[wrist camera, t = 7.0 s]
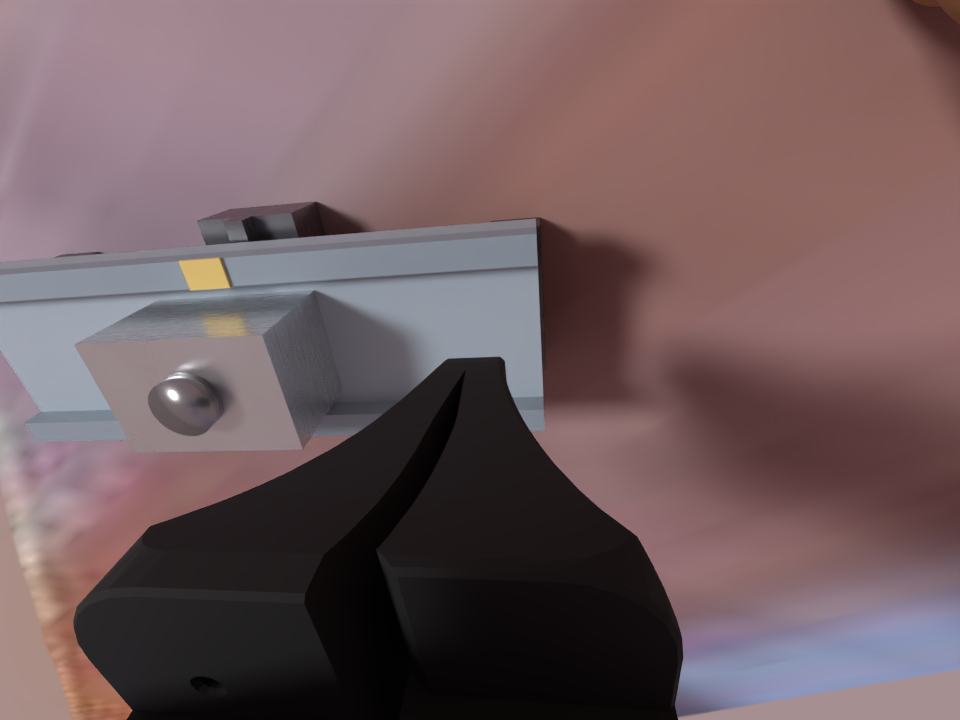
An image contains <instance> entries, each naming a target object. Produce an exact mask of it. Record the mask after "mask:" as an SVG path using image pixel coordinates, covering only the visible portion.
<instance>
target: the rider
mask: <svg viewBox="0 0 960 720" xmlns="http://www.w3.org/2000/svg"><path fill="white" fill-rule="evenodd" d="M74 346H75V348H76V349H77V351H78V353H79V355H80V356H81V358H82V360H83V361H84V363H85V365H86V367H87V368H88V370H89V372H90V374H91V375H92V377H93V379H94V381H95V382H96V384H97V386H98V387H99V389H100V391H101V393H102V394H103V396H104V398H105V400H106V401H107V403H108V405H109V407H110V408H111V410H112V412H113V414H114V415H115V417H116V419H117V420H118V422H119V424H120V426H121V427H122V429H123V431H124V433H125V434H126V436H127V438H128V440H129V441H130V443H131V445H132V446H133V448H134V450H135V452H186V451H252V450H303V449H304V447H305V446H306V444H307V443H308V441H309V440H310V438H311V437H312V435H313V434H314V432H315V431H316V429H317V428H318V426H319V425H320V423H321V421H322V420H323V418H324V417H325V415H326V414H327V412H328V411H329V409H330V408H331V406H332V405H333V403H334V402H335V400H336V399H337V397H338V396H339V394H340V393H341V391H342V390H343V389H342V385H341V382H340V378H339V375H338V371H337V367H336V364H335V360H334V357H333V353H332V350H331V346H330V343H329V339H328V336H327V332H326V329H325V325H324V321H323V318H322V314H321V311H320V307H319V304H318V300H317V297H316V293H315V290H303V291H287V292H271V293H256V294H240V295H224V296H208V297H192V298H177V299H161V300H157V301H155V302H153V303H151V304H150V305H148V306H146V307H144V308H142V309H140V310H138V311H136V312H134V313H133V314H131V315H129V316H127V317H125V318H123V319H121V320H119V321H117V322H116V323H114V324H112V325H110V326H108V327H106V328H104V329H102V330H100V331H99V332H97V333H95V334H93V335H91V336H89V337H87V338H85V339H83V340H82V341H80V342H78V343H76V344H74Z"/></svg>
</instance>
